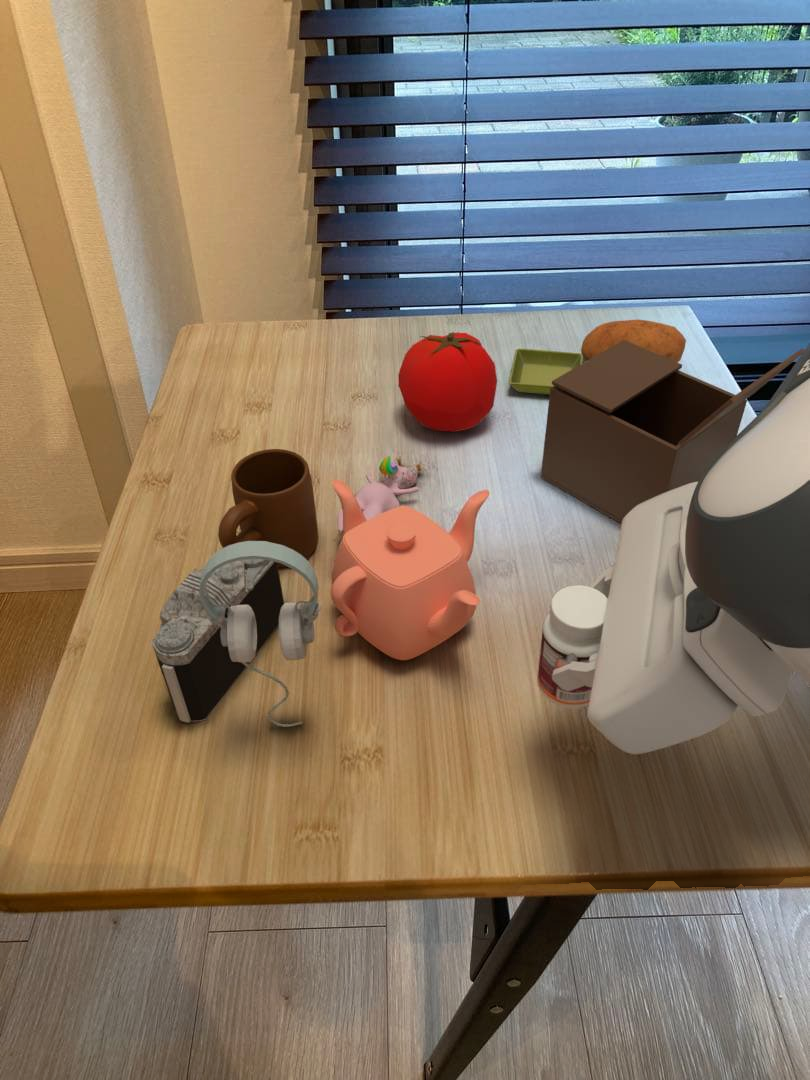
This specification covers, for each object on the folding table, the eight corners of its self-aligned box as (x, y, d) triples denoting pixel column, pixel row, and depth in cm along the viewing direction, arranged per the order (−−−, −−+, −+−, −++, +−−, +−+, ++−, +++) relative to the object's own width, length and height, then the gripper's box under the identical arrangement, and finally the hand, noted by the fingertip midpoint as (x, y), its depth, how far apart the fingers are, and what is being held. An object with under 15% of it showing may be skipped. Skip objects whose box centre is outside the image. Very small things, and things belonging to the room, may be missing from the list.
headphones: (233, 749, 68) (183, 571, 54) (238, 709, 71) (192, 530, 57) (336, 745, 68) (312, 566, 54) (337, 704, 71) (314, 525, 57)
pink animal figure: (384, 475, 96) (318, 538, 85) (386, 427, 93) (317, 487, 81) (434, 488, 94) (373, 556, 83) (438, 440, 91) (375, 503, 79)
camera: (233, 589, 81) (215, 509, 74) (294, 610, 79) (281, 530, 72) (135, 703, 71) (104, 623, 65) (201, 730, 69) (175, 651, 62)
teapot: (341, 560, 84) (332, 472, 77) (484, 571, 82) (490, 482, 75) (311, 674, 73) (297, 584, 66) (475, 688, 72) (480, 598, 64)
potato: (671, 394, 105) (675, 345, 100) (574, 377, 111) (573, 330, 106) (688, 361, 109) (693, 313, 104) (593, 346, 115) (593, 300, 110)
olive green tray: (507, 396, 105) (508, 382, 104) (514, 361, 111) (515, 347, 110) (577, 403, 104) (579, 389, 102) (581, 367, 110) (583, 353, 109)
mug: (268, 609, 79) (253, 535, 73) (202, 584, 82) (183, 510, 75) (333, 532, 87) (325, 459, 81) (271, 512, 90) (259, 439, 83)
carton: (720, 491, 91) (749, 392, 82) (654, 543, 85) (678, 443, 76) (607, 433, 99) (623, 339, 91) (540, 477, 93) (550, 380, 85)
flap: (748, 392, 82) (750, 395, 82) (677, 442, 77) (680, 446, 76) (802, 347, 76) (805, 351, 76) (730, 398, 70) (733, 402, 70)
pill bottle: (562, 649, 64) (574, 570, 59) (614, 684, 62) (632, 604, 56) (522, 685, 62) (531, 605, 56) (575, 722, 59) (589, 643, 54)
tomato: (477, 456, 96) (481, 370, 89) (385, 436, 99) (381, 352, 92) (508, 402, 104) (513, 319, 97) (421, 385, 108) (420, 304, 100)
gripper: (721, 436, 57) (562, 521, 66) (708, 662, 42) (506, 733, 51) (774, 498, 59) (612, 573, 67) (779, 736, 44) (572, 791, 53)
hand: (566, 644), depth 59 cm, fingers closed on pill bottle, 5 cm apart
